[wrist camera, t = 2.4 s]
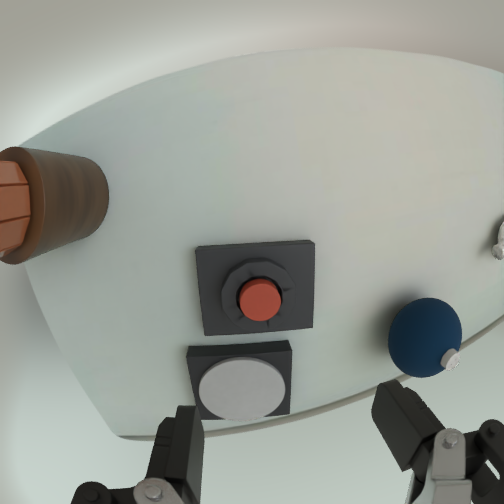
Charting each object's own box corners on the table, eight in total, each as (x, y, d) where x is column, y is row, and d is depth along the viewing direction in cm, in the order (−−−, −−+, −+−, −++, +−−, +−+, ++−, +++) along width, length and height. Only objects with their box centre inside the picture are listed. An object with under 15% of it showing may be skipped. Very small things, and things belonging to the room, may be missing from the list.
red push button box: (205, 327, 26) (203, 343, 23) (197, 246, 24) (192, 253, 21) (308, 320, 27) (316, 334, 24) (309, 239, 25) (319, 246, 22)
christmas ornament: (394, 363, 29) (436, 412, 19) (362, 327, 27) (409, 381, 17) (440, 315, 28) (491, 351, 18) (415, 272, 26) (477, 304, 17)
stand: (50, 241, 23) (-15, 266, 13) (44, 165, 21) (-23, 162, 11) (112, 235, 23) (52, 262, 14) (107, 150, 22) (44, 133, 12)
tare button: (240, 315, 23) (241, 322, 22) (238, 279, 22) (238, 285, 21) (278, 312, 23) (281, 319, 22) (278, 277, 23) (280, 282, 21)
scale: (200, 408, 28) (199, 423, 26) (188, 345, 26) (185, 360, 24) (286, 403, 29) (290, 417, 26) (288, 339, 27) (293, 353, 24)
